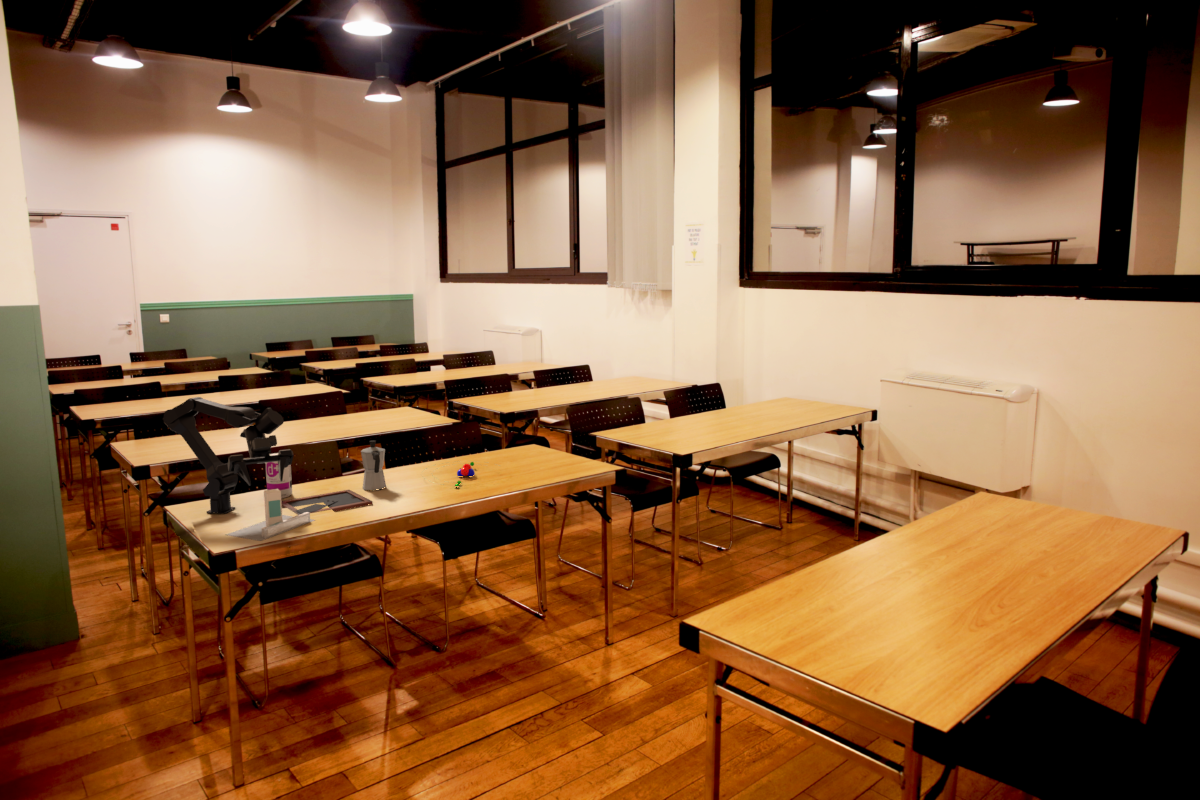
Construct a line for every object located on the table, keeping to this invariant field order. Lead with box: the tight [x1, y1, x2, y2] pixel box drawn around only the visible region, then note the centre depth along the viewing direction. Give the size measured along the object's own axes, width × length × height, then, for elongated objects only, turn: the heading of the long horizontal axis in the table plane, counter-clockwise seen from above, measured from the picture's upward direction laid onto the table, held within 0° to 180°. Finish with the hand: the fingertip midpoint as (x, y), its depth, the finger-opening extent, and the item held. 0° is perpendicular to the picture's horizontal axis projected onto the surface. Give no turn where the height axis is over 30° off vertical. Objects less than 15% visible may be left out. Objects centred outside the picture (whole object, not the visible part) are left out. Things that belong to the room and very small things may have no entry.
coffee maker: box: [360, 440, 387, 491], centre depth 281 cm, size 15×9×18 cm, turn 27°
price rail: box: [261, 512, 311, 540], centre depth 230 cm, size 1×18×3 cm, turn 157°
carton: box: [263, 489, 283, 526], centre depth 232 cm, size 4×4×12 cm
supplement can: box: [264, 452, 293, 499], centre depth 270 cm, size 8×8×15 cm
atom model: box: [421, 460, 501, 487], centre depth 299 cm, size 35×34×6 cm
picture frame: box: [281, 489, 373, 515], centre depth 261 cm, size 20×2×25 cm
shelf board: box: [225, 514, 316, 542], centre depth 233 cm, size 14×22×1 cm, turn 157°
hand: (266, 482), depth 237 cm, fingers open, 9 cm apart
